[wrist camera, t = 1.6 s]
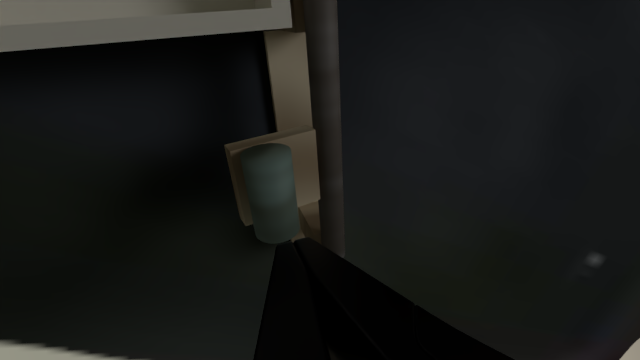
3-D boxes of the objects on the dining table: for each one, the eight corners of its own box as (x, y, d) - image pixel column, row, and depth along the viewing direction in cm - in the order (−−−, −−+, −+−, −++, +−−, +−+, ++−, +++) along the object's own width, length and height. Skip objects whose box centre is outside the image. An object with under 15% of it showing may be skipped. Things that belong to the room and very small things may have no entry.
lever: (498, 171, 21) (538, 185, 20) (252, 280, 14) (276, 322, 12) (593, -243, 13) (681, -292, 11) (71, -537, 5) (47, -875, 3)
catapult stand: (471, 195, 23) (509, 220, 20) (291, 243, 19) (307, 281, 16) (545, -197, 13) (636, -253, 11) (227, -240, 10) (238, -338, 7)
